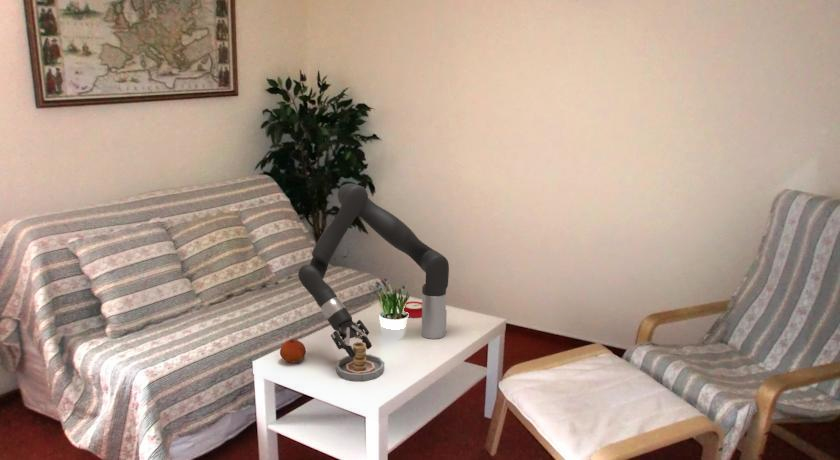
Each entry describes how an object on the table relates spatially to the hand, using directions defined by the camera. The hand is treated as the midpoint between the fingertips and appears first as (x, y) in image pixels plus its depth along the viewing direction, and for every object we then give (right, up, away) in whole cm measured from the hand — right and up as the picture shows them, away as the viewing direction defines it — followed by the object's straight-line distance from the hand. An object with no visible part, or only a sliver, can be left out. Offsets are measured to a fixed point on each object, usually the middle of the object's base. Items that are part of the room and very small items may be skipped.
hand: (362, 352), depth 223 cm
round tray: (-1, -7, +2) cm, 7 cm away
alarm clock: (+19, +6, +56) cm, 59 cm away
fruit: (-25, -5, +9) cm, 27 cm away
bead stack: (-1, -6, +2) cm, 7 cm away
